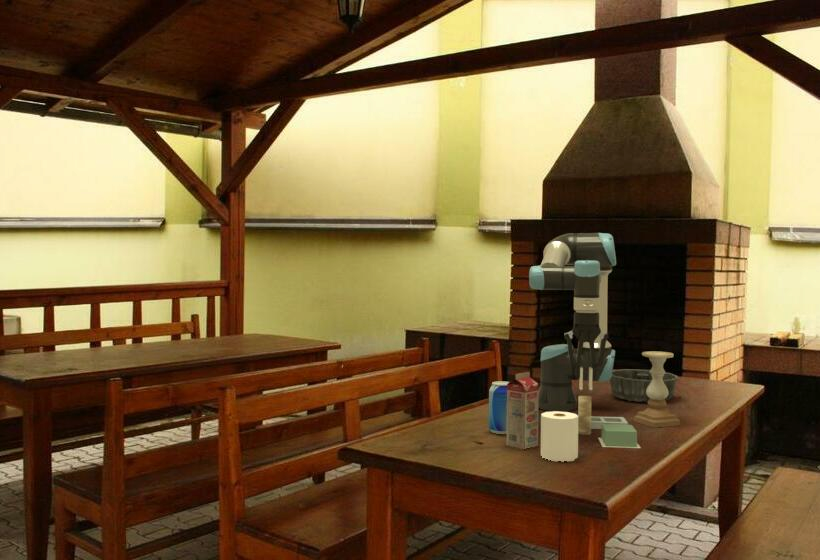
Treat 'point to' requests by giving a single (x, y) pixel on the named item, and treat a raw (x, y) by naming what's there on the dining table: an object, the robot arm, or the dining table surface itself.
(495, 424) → the beer can
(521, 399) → the juice carton
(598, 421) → the grey double window frame
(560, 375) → the robot arm
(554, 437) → the toilet paper
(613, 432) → the cover
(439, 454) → the dining table surface
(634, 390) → the bundt pan
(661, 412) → the candle holder
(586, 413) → the peg
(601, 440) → the mat
